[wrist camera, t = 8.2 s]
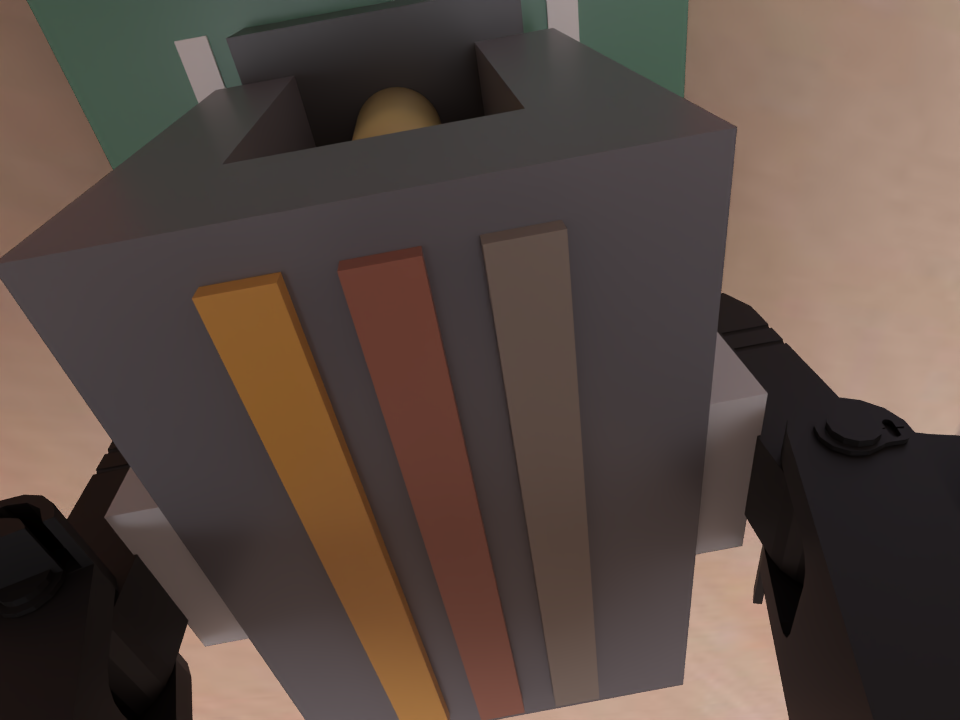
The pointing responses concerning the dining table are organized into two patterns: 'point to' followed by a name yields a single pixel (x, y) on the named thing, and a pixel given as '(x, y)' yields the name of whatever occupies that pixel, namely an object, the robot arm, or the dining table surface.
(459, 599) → the plug
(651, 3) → the pcb
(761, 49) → the dining table surface
